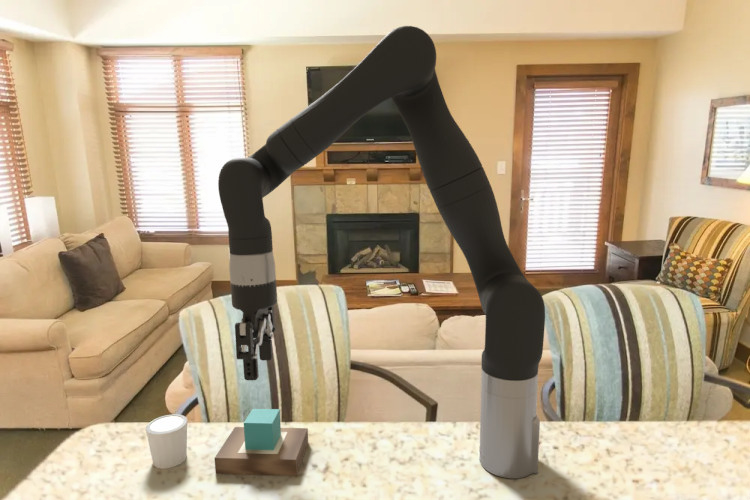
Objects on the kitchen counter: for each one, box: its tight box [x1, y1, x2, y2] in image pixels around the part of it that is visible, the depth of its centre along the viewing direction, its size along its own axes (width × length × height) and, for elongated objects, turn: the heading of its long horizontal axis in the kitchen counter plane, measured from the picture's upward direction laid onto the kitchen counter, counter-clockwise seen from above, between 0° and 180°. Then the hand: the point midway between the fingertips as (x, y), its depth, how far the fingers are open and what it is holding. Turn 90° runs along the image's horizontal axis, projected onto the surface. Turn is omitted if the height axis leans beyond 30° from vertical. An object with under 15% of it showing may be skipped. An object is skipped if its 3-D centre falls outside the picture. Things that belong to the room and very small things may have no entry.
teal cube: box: [243, 408, 282, 450], centre depth 86 cm, size 5×5×5 cm
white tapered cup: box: [145, 413, 188, 469], centre depth 86 cm, size 7×7×7 cm
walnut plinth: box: [214, 426, 309, 477], centre depth 86 cm, size 14×10×3 cm
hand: (259, 369), depth 84 cm, fingers open, 8 cm apart
